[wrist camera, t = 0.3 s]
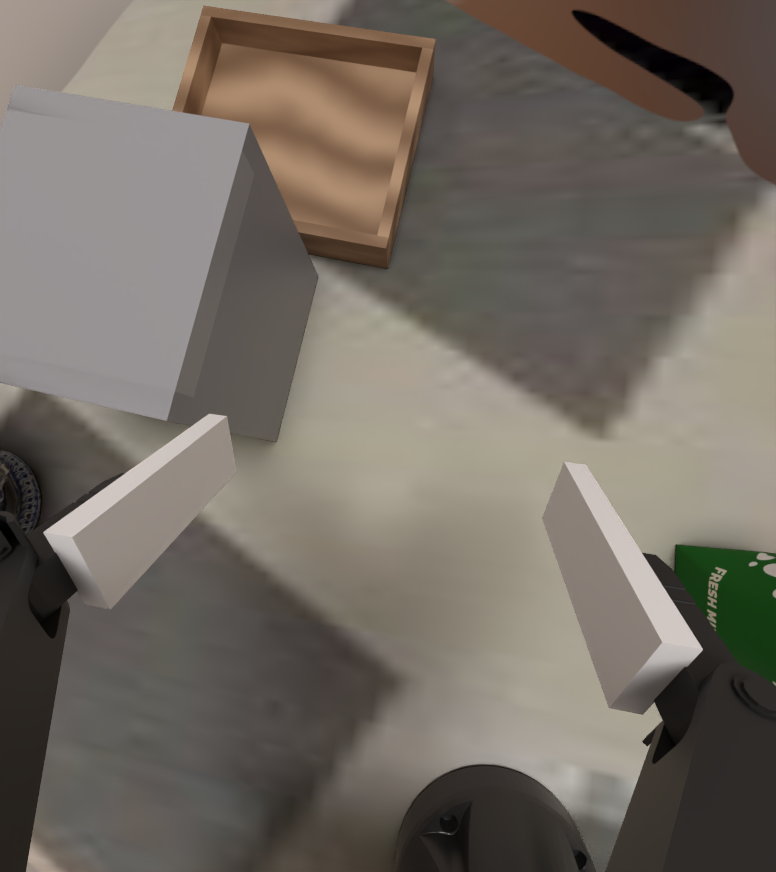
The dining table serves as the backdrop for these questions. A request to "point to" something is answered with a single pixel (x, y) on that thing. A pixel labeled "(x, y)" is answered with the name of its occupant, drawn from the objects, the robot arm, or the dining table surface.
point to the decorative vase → (19, 491)
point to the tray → (319, 118)
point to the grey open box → (147, 262)
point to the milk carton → (735, 600)
